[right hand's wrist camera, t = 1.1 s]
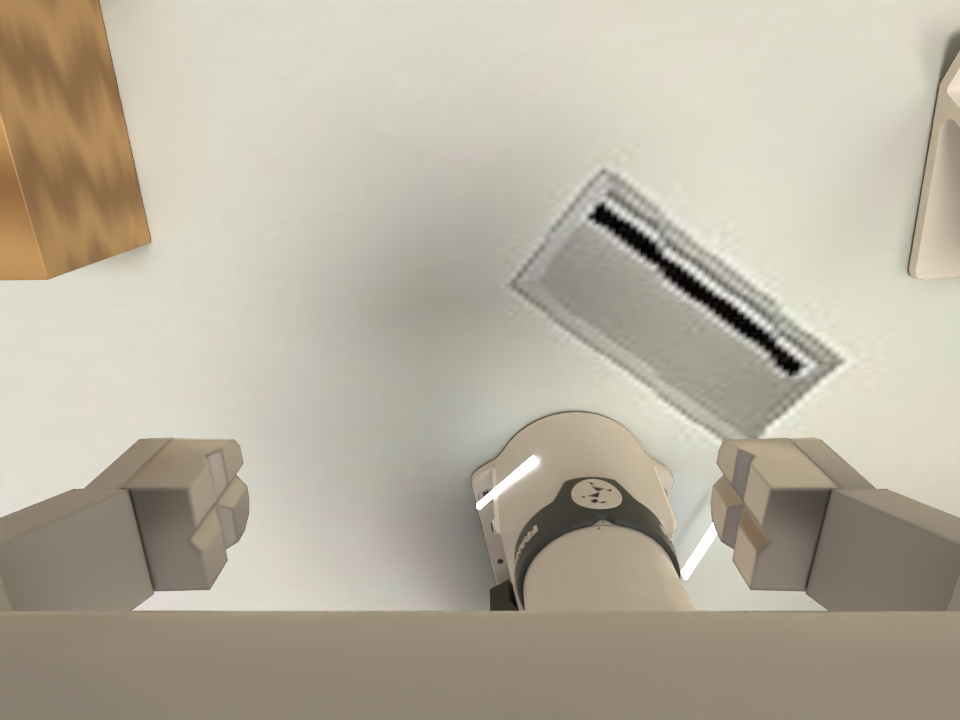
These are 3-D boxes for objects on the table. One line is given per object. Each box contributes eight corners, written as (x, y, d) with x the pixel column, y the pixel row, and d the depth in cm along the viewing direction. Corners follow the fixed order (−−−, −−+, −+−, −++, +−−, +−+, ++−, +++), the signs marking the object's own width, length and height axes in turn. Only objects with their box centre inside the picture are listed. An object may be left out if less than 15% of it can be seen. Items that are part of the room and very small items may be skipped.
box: (151, 242, 48) (48, 280, 36) (79, 243, 48) (-48, 281, 36) (73, -118, 39) (-96, -218, 28) (-15, -116, 39) (-221, -216, 28)
